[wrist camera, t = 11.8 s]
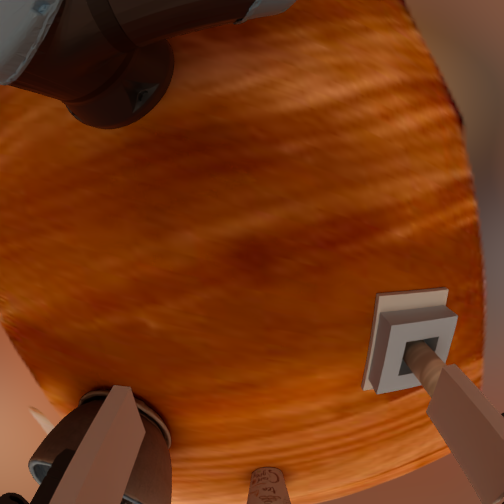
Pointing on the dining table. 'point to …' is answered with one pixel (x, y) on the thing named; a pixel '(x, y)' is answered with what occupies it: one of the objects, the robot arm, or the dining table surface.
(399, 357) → the socket
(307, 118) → the dining table surface
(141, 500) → the potted plant
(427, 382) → the peg
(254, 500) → the mug
